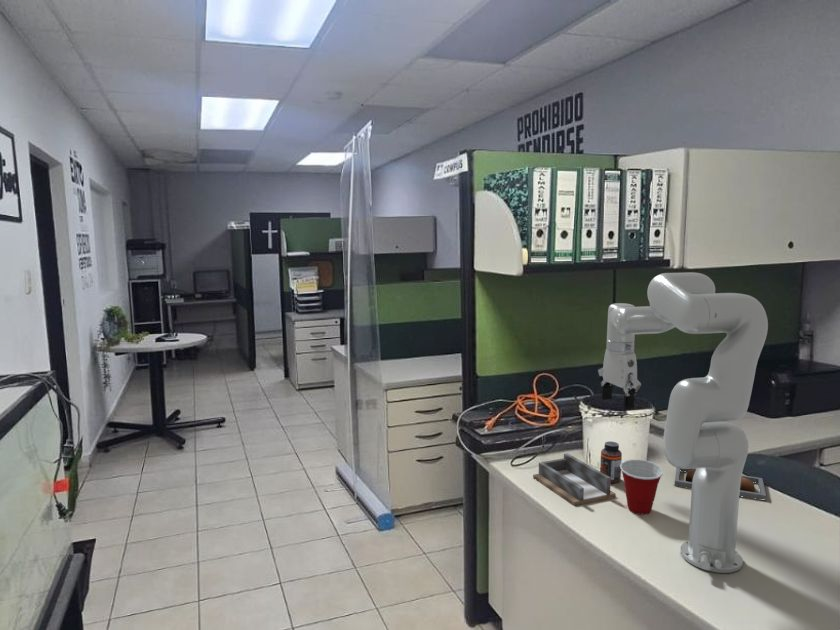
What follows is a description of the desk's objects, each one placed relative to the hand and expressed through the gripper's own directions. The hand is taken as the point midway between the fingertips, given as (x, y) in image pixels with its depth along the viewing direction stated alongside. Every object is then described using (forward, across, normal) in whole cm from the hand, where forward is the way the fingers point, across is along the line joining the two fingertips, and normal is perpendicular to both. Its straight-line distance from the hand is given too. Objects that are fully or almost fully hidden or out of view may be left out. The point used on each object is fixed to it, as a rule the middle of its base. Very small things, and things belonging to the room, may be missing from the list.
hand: (617, 403), depth 172 cm
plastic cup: (+23, -18, +6) cm, 30 cm away
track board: (+24, 0, +14) cm, 27 cm away
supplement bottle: (+24, 0, +1) cm, 24 cm away
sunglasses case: (+24, -13, -27) cm, 39 cm away
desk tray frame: (+23, -14, -26) cm, 38 cm away
